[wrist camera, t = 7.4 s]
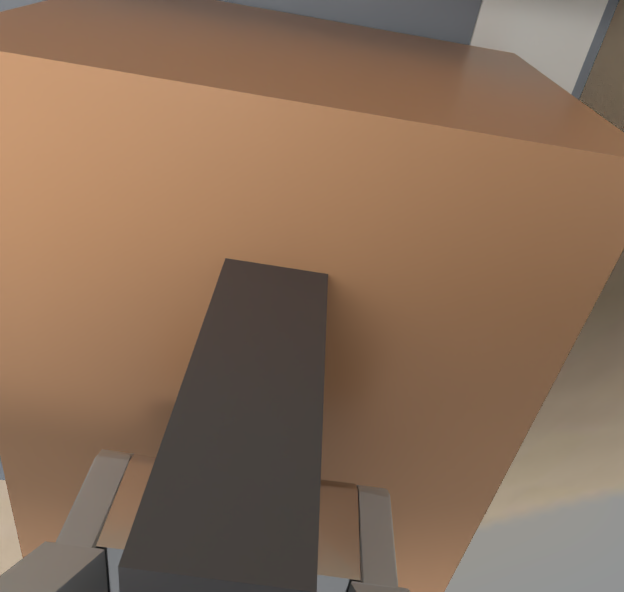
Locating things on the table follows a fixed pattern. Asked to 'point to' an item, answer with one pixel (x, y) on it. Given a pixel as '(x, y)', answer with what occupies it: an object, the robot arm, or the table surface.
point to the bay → (472, 28)
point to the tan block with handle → (283, 276)
